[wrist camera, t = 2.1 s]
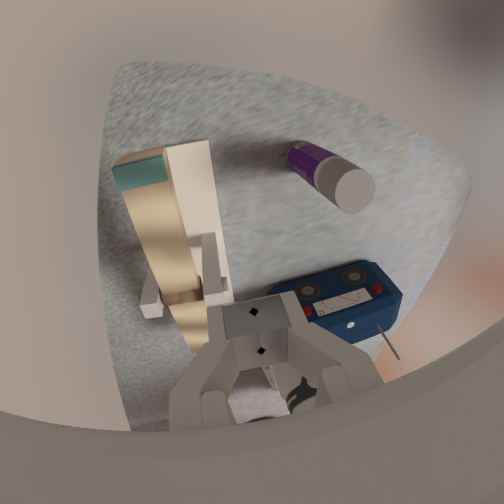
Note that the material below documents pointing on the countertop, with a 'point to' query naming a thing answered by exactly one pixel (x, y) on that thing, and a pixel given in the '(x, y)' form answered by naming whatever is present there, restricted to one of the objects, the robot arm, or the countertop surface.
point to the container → (332, 176)
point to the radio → (348, 301)
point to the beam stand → (195, 227)
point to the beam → (164, 238)
